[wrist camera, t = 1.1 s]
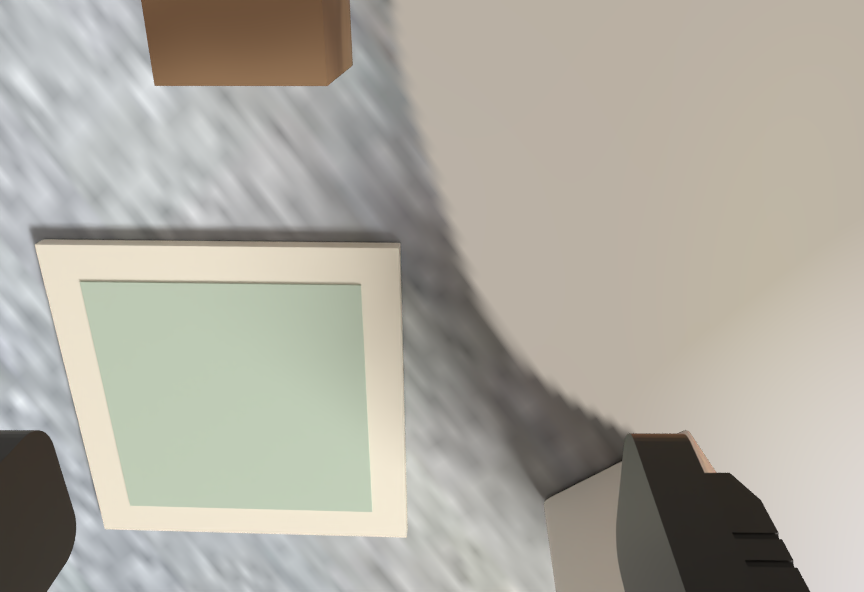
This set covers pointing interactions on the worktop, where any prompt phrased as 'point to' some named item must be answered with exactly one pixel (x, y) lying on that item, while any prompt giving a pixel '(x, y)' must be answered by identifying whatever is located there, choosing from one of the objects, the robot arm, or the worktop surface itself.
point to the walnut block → (248, 42)
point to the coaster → (236, 382)
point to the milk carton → (590, 531)
